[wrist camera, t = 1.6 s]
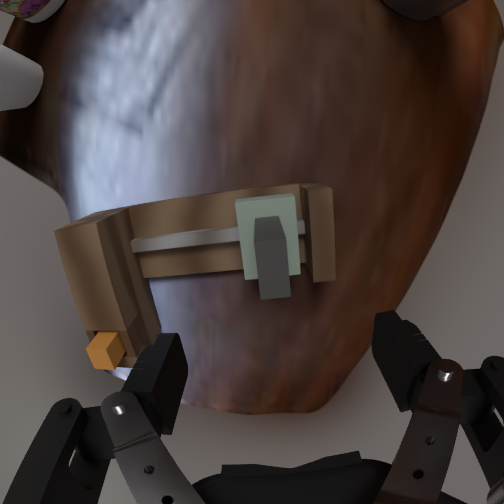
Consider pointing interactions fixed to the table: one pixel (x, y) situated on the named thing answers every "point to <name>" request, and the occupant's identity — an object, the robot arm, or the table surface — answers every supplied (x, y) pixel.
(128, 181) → the table surface
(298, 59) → the table surface
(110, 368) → the button
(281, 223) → the sliding handle
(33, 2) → the milk bottle
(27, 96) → the foam cup
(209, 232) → the brown mechanism housing
